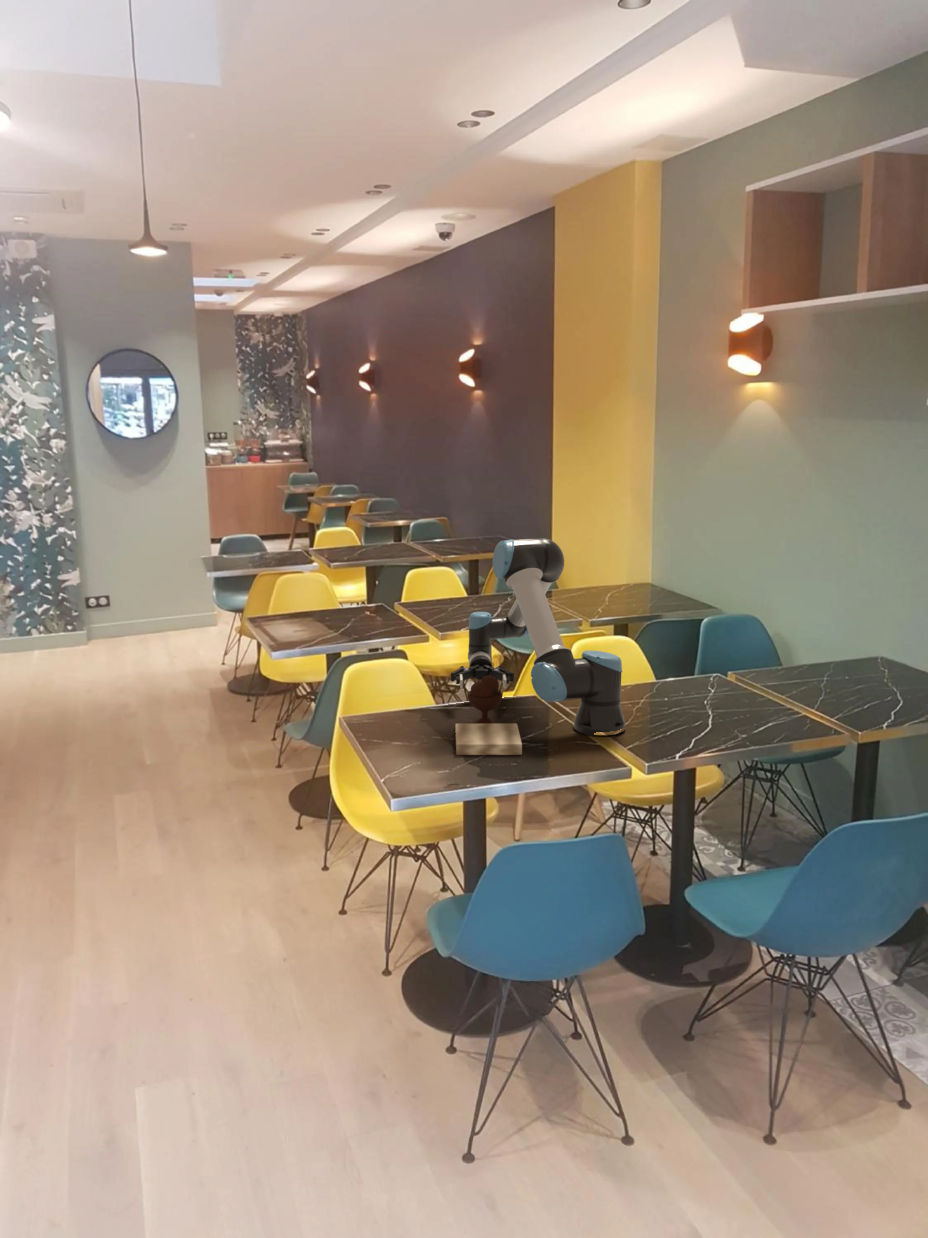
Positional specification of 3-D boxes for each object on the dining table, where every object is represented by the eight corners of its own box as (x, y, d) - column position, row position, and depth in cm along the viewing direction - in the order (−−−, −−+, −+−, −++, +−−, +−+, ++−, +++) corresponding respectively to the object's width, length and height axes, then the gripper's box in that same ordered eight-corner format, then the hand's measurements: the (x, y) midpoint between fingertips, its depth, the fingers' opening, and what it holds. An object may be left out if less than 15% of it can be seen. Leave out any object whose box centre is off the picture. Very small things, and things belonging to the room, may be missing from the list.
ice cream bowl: (489, 715, 304) (490, 669, 301) (509, 725, 295) (510, 677, 292) (460, 721, 299) (460, 673, 296) (479, 731, 289) (480, 682, 286)
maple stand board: (516, 733, 288) (516, 723, 288) (521, 754, 271) (522, 744, 270) (455, 733, 288) (455, 723, 287) (456, 754, 270) (456, 744, 270)
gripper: (517, 676, 326) (523, 696, 306) (442, 676, 326) (443, 695, 305) (518, 655, 325) (523, 672, 304) (443, 654, 324) (443, 672, 303)
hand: (483, 684), depth 305 cm, fingers open, 13 cm apart
